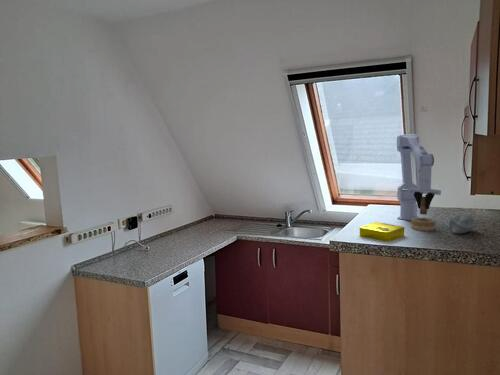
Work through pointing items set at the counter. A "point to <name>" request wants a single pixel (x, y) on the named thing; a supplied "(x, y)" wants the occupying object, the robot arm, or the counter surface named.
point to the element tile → (382, 231)
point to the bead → (423, 224)
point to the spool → (461, 223)
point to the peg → (423, 205)
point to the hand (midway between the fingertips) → (423, 208)
